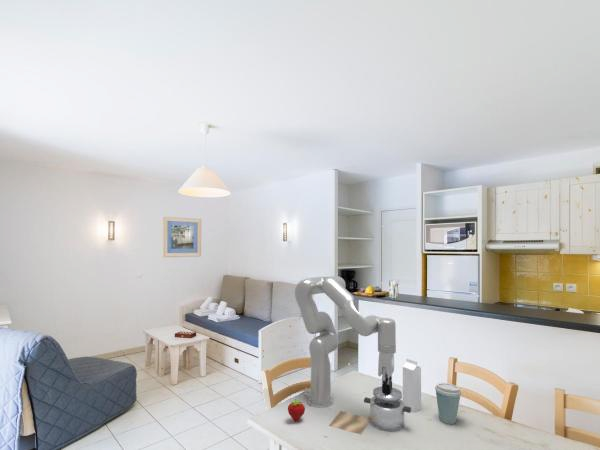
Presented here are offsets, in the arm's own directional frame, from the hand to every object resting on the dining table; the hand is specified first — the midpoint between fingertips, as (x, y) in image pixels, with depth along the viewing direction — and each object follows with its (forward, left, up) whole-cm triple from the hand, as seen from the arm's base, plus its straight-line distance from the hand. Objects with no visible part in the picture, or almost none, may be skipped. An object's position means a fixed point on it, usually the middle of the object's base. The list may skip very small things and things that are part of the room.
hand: (387, 391), depth 145 cm
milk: (+7, +20, -14) cm, 25 cm away
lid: (0, 0, -1) cm, 1 cm away
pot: (0, 0, -14) cm, 14 cm away
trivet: (-14, -7, -14) cm, 21 cm away
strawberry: (-35, -17, -14) cm, 41 cm away
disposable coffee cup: (+23, +16, -14) cm, 31 cm away
